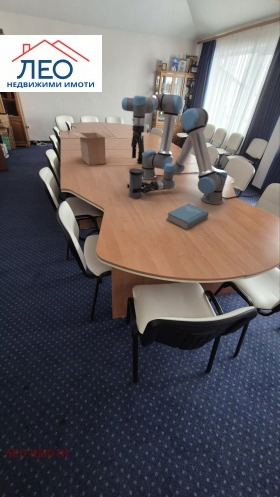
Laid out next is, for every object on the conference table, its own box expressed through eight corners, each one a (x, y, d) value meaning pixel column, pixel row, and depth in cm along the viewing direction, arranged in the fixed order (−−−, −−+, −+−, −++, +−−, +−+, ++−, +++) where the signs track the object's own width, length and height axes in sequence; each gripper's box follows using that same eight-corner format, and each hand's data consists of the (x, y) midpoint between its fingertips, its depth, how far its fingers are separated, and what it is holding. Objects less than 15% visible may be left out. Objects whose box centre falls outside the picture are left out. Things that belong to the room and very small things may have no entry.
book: (187, 209, 155) (188, 203, 152) (207, 218, 146) (209, 211, 143) (166, 219, 142) (167, 212, 139) (187, 230, 133) (188, 222, 130)
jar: (129, 198, 166) (130, 172, 154) (128, 193, 173) (129, 168, 162) (141, 198, 166) (143, 173, 155) (140, 193, 174) (142, 169, 163)
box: (116, 165, 229) (116, 136, 213) (83, 168, 214) (80, 137, 198) (102, 154, 259) (101, 128, 243) (71, 156, 244) (68, 129, 228)
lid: (129, 175, 155) (129, 172, 154) (128, 170, 163) (128, 168, 162) (143, 175, 156) (143, 172, 155) (142, 171, 164) (142, 168, 163)
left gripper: (127, 122, 149) (126, 156, 162) (139, 128, 131) (137, 165, 144) (137, 122, 151) (136, 155, 164) (151, 128, 134) (148, 165, 147)
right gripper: (162, 195, 167) (135, 199, 159) (149, 185, 183) (124, 188, 175) (163, 186, 163) (136, 189, 154) (150, 176, 178) (124, 178, 170)
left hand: (136, 160), depth 154 cm, fingers open, 11 cm apart
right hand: (129, 188), depth 164 cm, fingers closed on jar, 9 cm apart
